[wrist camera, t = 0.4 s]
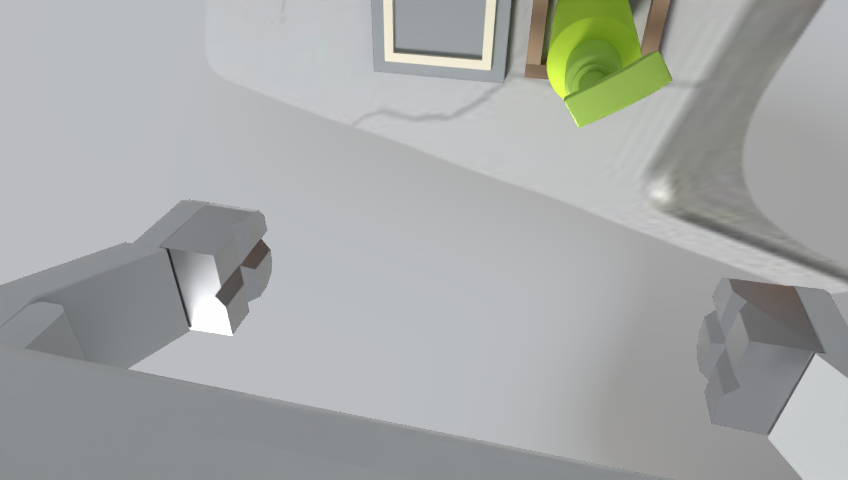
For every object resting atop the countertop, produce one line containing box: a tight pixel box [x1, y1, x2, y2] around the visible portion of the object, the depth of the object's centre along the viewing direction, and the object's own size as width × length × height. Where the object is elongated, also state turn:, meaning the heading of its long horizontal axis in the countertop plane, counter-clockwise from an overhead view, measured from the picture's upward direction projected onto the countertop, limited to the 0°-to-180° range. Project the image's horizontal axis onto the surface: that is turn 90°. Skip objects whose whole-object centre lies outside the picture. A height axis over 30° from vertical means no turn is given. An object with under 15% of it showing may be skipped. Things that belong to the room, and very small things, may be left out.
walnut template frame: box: [525, 0, 670, 79], centre depth 47 cm, size 11×10×1 cm
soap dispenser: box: [547, 0, 672, 128], centre depth 40 cm, size 6×7×20 cm
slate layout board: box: [371, 0, 512, 83], centre depth 49 cm, size 13×12×1 cm
